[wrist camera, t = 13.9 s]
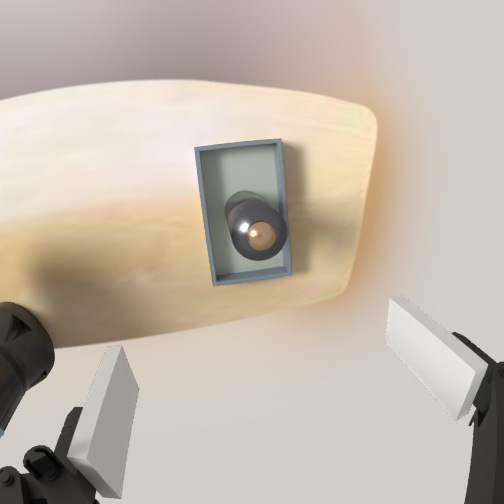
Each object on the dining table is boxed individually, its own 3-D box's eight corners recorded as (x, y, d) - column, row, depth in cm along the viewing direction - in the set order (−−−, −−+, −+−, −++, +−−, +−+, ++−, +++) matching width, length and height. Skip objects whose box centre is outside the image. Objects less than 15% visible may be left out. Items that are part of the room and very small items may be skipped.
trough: (212, 277, 42) (213, 286, 39) (195, 148, 36) (194, 147, 34) (285, 266, 43) (291, 274, 40) (275, 139, 37) (280, 138, 34)
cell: (226, 232, 39) (235, 268, 27) (222, 193, 38) (228, 211, 25) (266, 227, 40) (292, 260, 27) (262, 188, 38) (288, 204, 26)
